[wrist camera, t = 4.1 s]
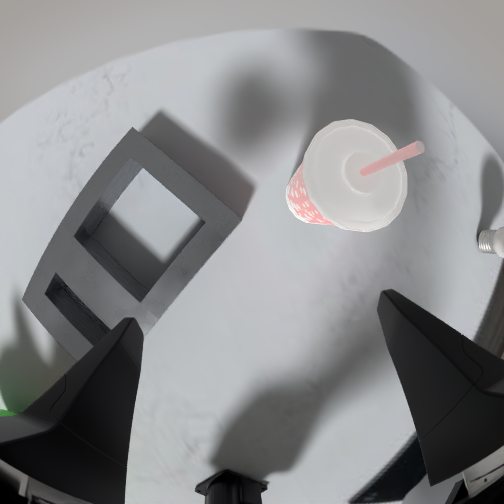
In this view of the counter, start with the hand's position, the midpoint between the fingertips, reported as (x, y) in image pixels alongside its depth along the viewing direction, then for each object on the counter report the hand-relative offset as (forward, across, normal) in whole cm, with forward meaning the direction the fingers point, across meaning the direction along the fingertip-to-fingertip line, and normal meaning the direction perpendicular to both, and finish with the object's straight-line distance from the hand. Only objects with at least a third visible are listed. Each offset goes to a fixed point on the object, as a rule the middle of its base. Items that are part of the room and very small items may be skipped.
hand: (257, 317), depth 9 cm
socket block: (+11, +11, +4) cm, 16 cm away
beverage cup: (+14, -5, +1) cm, 15 cm away
